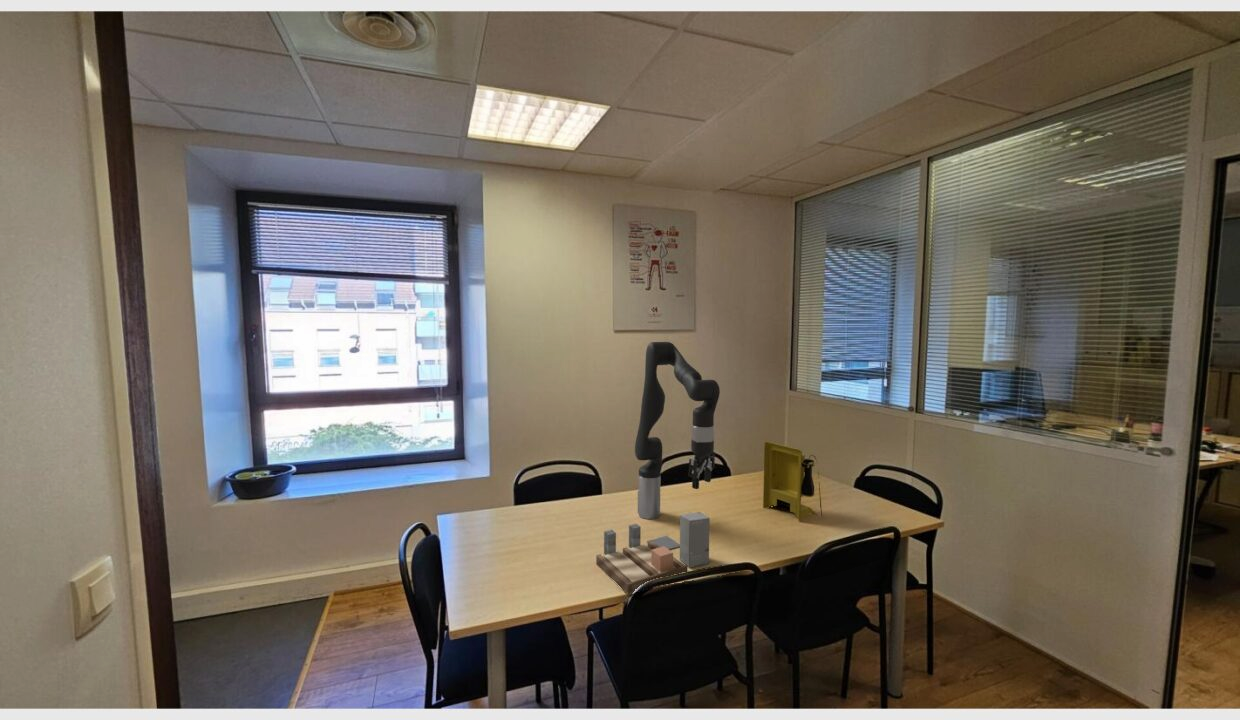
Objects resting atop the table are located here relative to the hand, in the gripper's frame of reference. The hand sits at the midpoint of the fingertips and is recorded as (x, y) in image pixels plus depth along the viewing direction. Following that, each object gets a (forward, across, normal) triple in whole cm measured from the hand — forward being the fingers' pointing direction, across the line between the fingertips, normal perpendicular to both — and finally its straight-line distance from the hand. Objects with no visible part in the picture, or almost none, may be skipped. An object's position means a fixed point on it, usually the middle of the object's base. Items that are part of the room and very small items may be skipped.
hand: (701, 484), depth 156 cm
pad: (+26, 0, -15) cm, 30 cm away
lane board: (+26, +20, -11) cm, 34 cm away
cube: (+23, +17, -5) cm, 29 cm away
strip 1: (+25, +23, -15) cm, 37 cm away
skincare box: (+26, +4, 0) cm, 26 cm away
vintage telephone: (+26, -60, +13) cm, 67 cm away
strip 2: (+25, +14, -11) cm, 31 cm away
